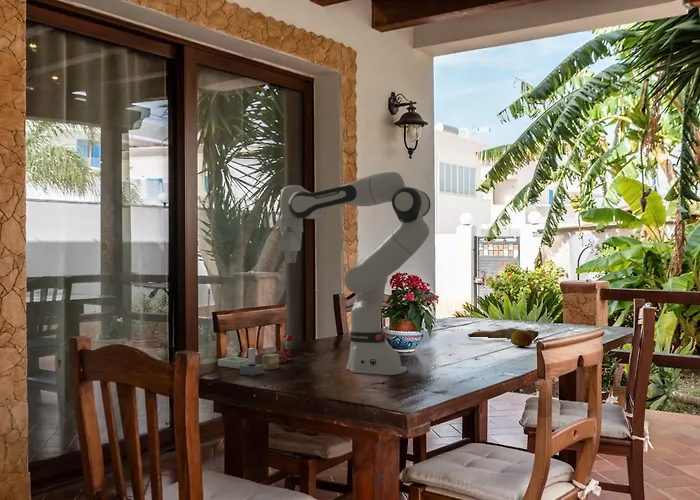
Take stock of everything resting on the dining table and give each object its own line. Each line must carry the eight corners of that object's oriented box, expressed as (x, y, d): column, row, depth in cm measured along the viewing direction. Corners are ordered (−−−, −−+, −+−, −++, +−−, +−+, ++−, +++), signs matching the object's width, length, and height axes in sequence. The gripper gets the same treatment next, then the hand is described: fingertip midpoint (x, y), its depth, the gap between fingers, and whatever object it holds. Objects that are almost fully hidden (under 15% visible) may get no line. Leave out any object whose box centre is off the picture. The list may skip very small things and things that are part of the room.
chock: (278, 367, 262) (278, 354, 262) (270, 369, 257) (271, 356, 257) (269, 366, 264) (269, 353, 263) (262, 368, 259) (262, 355, 259)
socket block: (263, 373, 250) (263, 364, 250) (253, 375, 244) (253, 367, 244) (249, 371, 253) (249, 363, 253) (239, 374, 247) (239, 365, 247)
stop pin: (256, 373, 249) (256, 348, 249) (252, 374, 247) (252, 349, 247) (250, 372, 250) (251, 347, 250) (246, 374, 248) (247, 348, 248)
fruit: (534, 347, 323) (535, 330, 323) (528, 349, 316) (528, 331, 316) (514, 345, 329) (514, 328, 329) (508, 347, 321) (508, 330, 321)
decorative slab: (539, 339, 356) (539, 329, 356) (532, 344, 336) (533, 334, 336) (476, 335, 369) (476, 325, 369) (466, 340, 349) (466, 330, 349)
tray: (252, 365, 266) (252, 358, 266) (239, 368, 258) (239, 361, 258) (231, 363, 270) (231, 356, 270) (217, 366, 263) (217, 359, 263)
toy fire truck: (275, 363, 271) (275, 338, 271) (285, 357, 285) (285, 334, 285) (283, 363, 271) (283, 338, 271) (293, 358, 284) (293, 334, 284)
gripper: (293, 226, 260) (293, 263, 261) (304, 228, 281) (303, 262, 281) (276, 226, 261) (276, 263, 261) (288, 227, 282) (288, 262, 282)
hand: (290, 263), depth 271 cm, fingers open, 8 cm apart
